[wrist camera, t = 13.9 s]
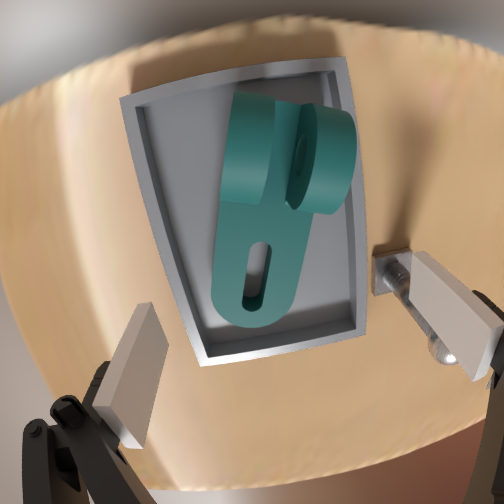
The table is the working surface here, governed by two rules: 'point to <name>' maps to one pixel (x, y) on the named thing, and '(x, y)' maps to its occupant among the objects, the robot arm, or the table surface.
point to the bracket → (275, 197)
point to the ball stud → (405, 295)
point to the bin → (208, 201)
